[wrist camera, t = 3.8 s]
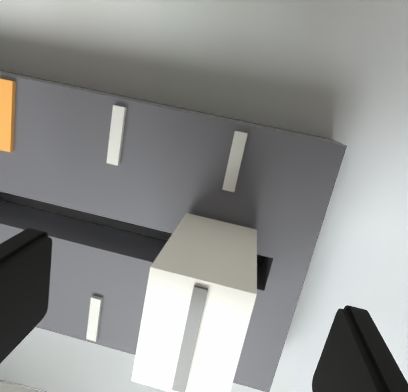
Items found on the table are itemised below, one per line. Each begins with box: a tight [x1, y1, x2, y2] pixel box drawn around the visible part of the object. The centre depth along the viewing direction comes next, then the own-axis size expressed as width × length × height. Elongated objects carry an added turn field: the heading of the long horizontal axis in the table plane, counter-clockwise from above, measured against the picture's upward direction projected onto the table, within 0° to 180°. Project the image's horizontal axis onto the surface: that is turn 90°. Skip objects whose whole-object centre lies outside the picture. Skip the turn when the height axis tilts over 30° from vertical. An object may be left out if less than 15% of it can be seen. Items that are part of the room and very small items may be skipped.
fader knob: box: [131, 213, 257, 392], centre depth 13 cm, size 4×3×7 cm
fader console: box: [0, 71, 347, 392], centre depth 16 cm, size 12×18×3 cm, turn 79°
